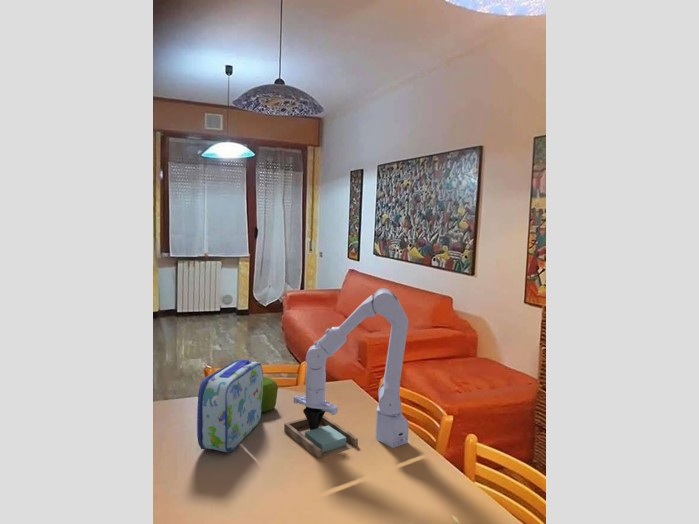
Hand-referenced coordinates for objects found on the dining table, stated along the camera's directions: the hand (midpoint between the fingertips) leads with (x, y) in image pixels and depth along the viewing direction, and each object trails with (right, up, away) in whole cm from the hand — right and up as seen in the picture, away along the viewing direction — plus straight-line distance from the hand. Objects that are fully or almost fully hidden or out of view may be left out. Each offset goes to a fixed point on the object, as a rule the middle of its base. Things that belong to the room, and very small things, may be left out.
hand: (314, 431), depth 137 cm
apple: (-19, +1, +18) cm, 26 cm away
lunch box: (-24, -1, -1) cm, 24 cm away
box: (+2, -2, -2) cm, 3 cm away
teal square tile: (+3, -1, -5) cm, 6 cm away
